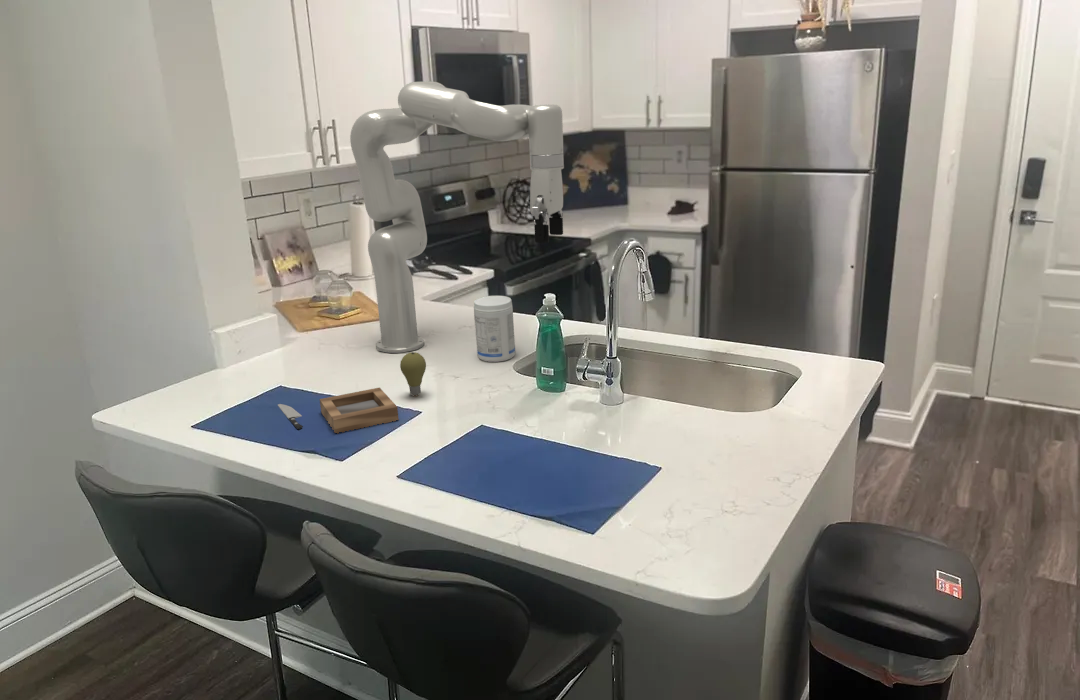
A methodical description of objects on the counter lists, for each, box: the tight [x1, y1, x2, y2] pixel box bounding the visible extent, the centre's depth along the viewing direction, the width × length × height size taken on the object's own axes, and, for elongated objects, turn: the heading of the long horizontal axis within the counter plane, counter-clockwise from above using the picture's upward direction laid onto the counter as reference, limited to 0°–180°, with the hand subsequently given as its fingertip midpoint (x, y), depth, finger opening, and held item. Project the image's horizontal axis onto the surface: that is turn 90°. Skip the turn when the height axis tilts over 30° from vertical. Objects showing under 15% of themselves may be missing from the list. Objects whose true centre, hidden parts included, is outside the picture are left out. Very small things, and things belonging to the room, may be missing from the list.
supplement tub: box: [473, 295, 516, 363], centre depth 200 cm, size 10×10×15 cm
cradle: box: [319, 387, 400, 434], centre depth 168 cm, size 13×13×3 cm
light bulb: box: [399, 351, 427, 397], centre depth 177 cm, size 6×6×10 cm
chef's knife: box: [277, 403, 304, 430], centre depth 171 cm, size 19×1×3 cm
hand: (549, 238), depth 186 cm, fingers open, 9 cm apart
